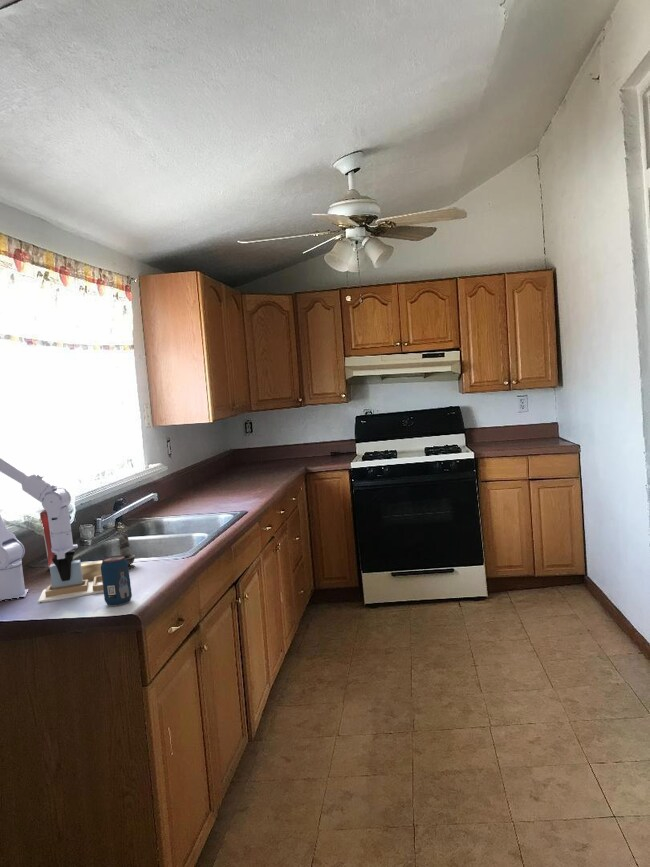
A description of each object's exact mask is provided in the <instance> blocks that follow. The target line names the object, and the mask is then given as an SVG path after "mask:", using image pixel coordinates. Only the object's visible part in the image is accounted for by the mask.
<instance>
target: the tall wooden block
mask: <svg viewBox="0 0 650 867" xmlns="http://www.w3.org/2000/svg"><path fill="white" fill-rule="evenodd" d="M101 564H102V560H98V561H92V562H85V563H81V570H82V578H83V580H87V579H88V582H93V581H94V577H95V576H100V575H101Z"/></svg>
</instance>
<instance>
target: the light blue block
mask: <svg viewBox="0 0 650 867" xmlns="http://www.w3.org/2000/svg"><path fill="white" fill-rule="evenodd" d="M81 564H82V563H81V559H76V560H72V562H71V576H70V580H67V581H62V580H61V577H60V574H59V571H58V569H57V567H56V565H55V564H51V565H50V568H49V574H50V575H49V576H50V580H51V581H50V582H51V585H52V588H54V587H61V586H67V585H73V584H79V583H82V581H83V578H82V570H81Z"/></svg>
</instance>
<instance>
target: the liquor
mask: <svg viewBox="0 0 650 867" xmlns="http://www.w3.org/2000/svg"><path fill="white" fill-rule="evenodd" d="M51 484H52V485H54V484H53V483H51ZM39 516H40V521H41V520H42V523H43V527H44V534H43V538H44V543H45V550H46V557H47V562H48V564H47V566H46V567H48V568H49V569H50V565H51V564H54V562H53V561H52V557H55V556H54V554H55V553H53V552H52V551H51V549H52V545H51V537H50V529H49V522H48V516H47V511H46V510H45V509H44V510H42V511H41V512H40V513H39ZM42 523H41V524H42Z"/></svg>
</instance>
